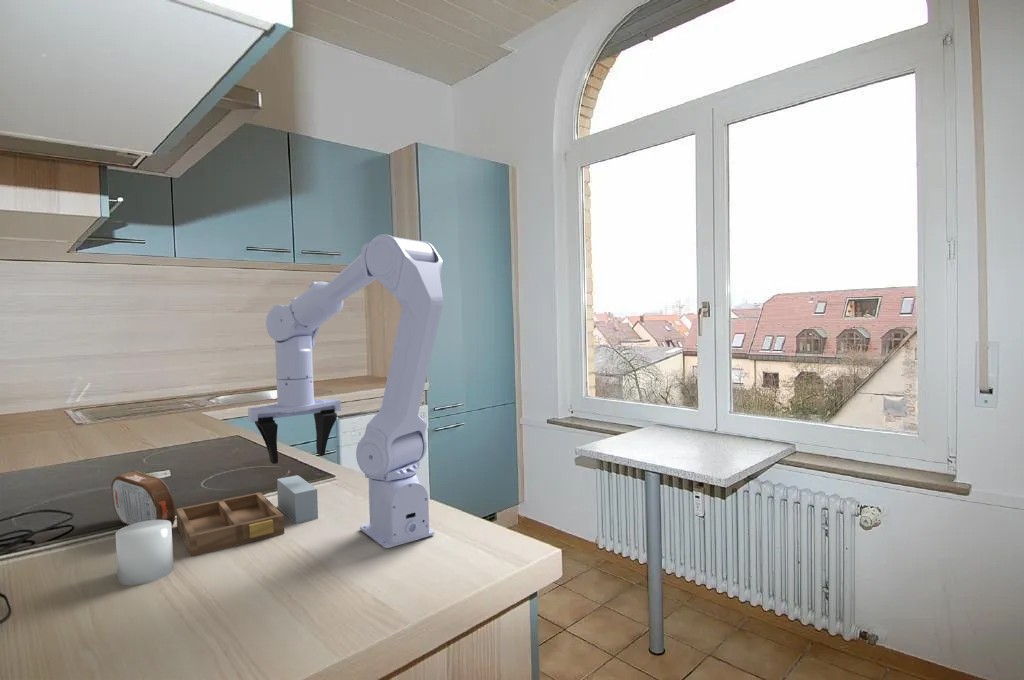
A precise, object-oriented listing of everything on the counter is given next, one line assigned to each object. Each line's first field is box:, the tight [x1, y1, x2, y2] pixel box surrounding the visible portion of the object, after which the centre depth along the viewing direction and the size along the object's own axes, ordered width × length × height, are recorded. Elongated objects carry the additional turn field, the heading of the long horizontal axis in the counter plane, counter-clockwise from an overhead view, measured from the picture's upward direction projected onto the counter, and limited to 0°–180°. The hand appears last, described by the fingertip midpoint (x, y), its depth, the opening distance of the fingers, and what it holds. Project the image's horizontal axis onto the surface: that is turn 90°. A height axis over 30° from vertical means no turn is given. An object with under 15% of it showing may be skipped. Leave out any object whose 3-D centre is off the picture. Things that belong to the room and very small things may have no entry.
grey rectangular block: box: [276, 475, 319, 525], centre depth 93 cm, size 10×4×5 cm, turn 38°
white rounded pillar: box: [115, 520, 175, 586], centre depth 72 cm, size 6×6×6 cm
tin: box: [110, 470, 176, 527], centre depth 87 cm, size 15×3×8 cm, turn 58°
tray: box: [175, 491, 285, 557], centre depth 86 cm, size 15×12×3 cm
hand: (298, 458), depth 93 cm, fingers open, 7 cm apart
